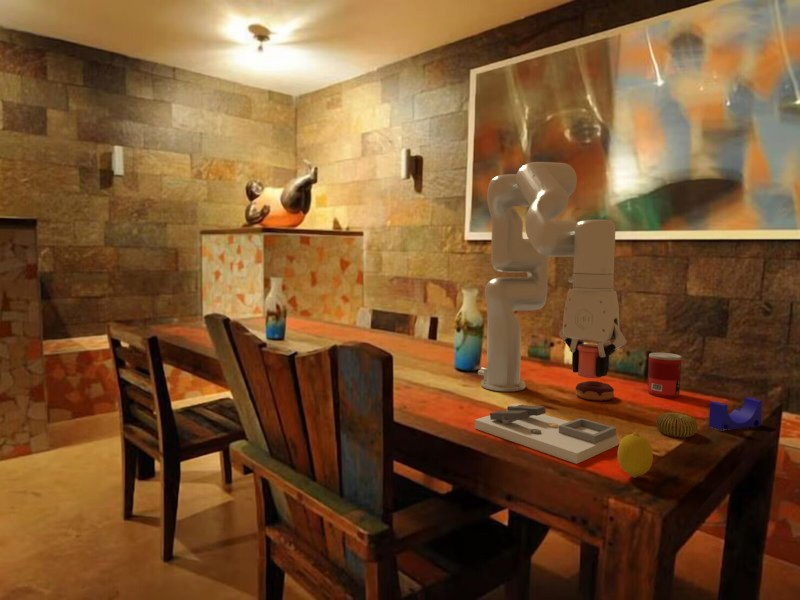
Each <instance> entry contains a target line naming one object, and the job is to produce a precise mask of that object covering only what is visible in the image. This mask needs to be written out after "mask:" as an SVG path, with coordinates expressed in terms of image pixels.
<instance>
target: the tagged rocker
mask: <svg viewBox="0 0 800 600" xmlns="http://www.w3.org/2000/svg"><path fill="white" fill-rule="evenodd" d="M506 408H507V409H506V410H508V411H528V415H529V417H530V416H533V415H535V416H538V415H541V414H544V415H545V414H547V412H546V406H543V405H528V404H527V405H526V404H524V403H512V404H509V405H507V407H506Z"/></svg>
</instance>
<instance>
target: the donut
mask: <svg viewBox="0 0 800 600" xmlns="http://www.w3.org/2000/svg"><path fill="white" fill-rule="evenodd" d="M575 390H576V391H575V395H576V396H578V397H579V398H581V399H584V400H587V401H588V400H589V401H598V402H599V401H600V402H601V401H603V400H604V401H608V400H612V399H613V398H614V397H615V394H614V392H615V389H614V387H613V386H611V385H610V384H608V383H605V382H602V381H597V380H588V381H587V380H586V381H583V382H579V383H577V385H576V386H575ZM604 401H603V402H604Z"/></svg>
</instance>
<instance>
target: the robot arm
mask: <svg viewBox="0 0 800 600" xmlns="http://www.w3.org/2000/svg"><path fill="white" fill-rule="evenodd" d="M577 183H578V177H577V173H576V170H575V169H574V167H572V166H571V165H570V164H568V163H565V162H551V161H532V162H528V163H525V164H524V165H522V166H521V167H519V169H518V171H517V173H508V174H507V173H506V174H500V175H496V176H495V177H492V179H491V180H490V181H489V183H488V187H487V193H486V194H487V195H486V199H487V206H488V211H489V214H490V215H489V216H490V220H491V248H490V249H491V253H490V254H491V255H490V256H491V257H490V259H491V266H492V268H493V269H494V270H495V271H496V272H500V273H526V275H527V276H524V277H523V276H520V277H519V276H500V277H495V278H491V280H488V282H487V283H486V284H485V287H484V299H485V303H486V304H485V306H486V319H487V327H486V328H487V329H486V331H487V333H486V334H487V336H486V337H487V340H486V342H487V344H486V367H480V369H479V370H478V371H477V374H478V375H479V376H483V379H482V380H481V381H480V386H481V387H482V388H484V389H487V390H489V391H496V392H508V393H509V392H518V391H523V390H525V388H526V382H525V381H523V380H521V361H522V360H521V359H522V357H521V356H522V355H521V354H522V353H521V351H522V350H521V349H522V326H521V322H520V320H519V319H518V318H517V316H516V315H515V314H514V312H515V311H516V312H517V311H537V310H540V309H542V308H544V306H545V305H546V302H547V297H548V280H549V257H550V258H556V257H557V258H566V257H567V258H573V267H572V268H573V269H572V270H573V273H572V275H571V276H570V275H569V276H568V278H567V279H568V280H567V281H568V283H571V284H572V288H569V289H568V292H567V294H566V299H565V303H564V304H565V305H564V310H563V311H564V312H563V319H562V320H563V321H562V327H561V329H560V331H559V332H558V336H559V337H560V339H562V340H563V341H564V342H565V344H566V345H567V347H568V348H569V352H571V353H572V355H571V358H572V359H571V360H572V361H571V363H572V364H571V365H572V373H578V362H579V350H577V345H579V344H585V341H586V342H587V341H588V342H594V343H595V342H596V345H598V351H599V356H598V357H597V358H596V376H597V377H600V378H602V377H605V376H607V375H608V373H609V368H610V367H609V365H610V364H609V362H610V361H609V360H610V356H612V354H613V353H615V351H617V350H618V349H619V348H622V347H623V346H625V345H626V344H627V343H628V341H627V339H626V338H625V336H624V335H623V332H622V331H621V329H620V309H619V298H618V293H617V291H616V290H614V276H615V275H614V273H615V272H614V271H615V254H616V253H615V248H616V224H615V223H614V222H613V221H612V220H609V219H585V220H580V221H578V220H555V219H557V218H558V217H559V216H561V215H563V213H564V212H565V211H566V210H567V208H568V205H569V200H570V198H569V197H570V196H571V195H572V194H573V193H575V191H576V187H577ZM515 207H524V208H525V207H526V208H528V210H527V212H526V215H525V224H524V223H523V220H522V217H521V215H520V214H519V212H518V211H517V209H516V208H515ZM524 227H525V233H526V236H527V238H524V237H523V232H524V231H523V230H524ZM611 341H613V342H612V343H611Z"/></svg>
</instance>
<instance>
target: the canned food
mask: <svg viewBox="0 0 800 600" xmlns="http://www.w3.org/2000/svg"><path fill="white" fill-rule="evenodd" d="M682 360H683V359H682V356H681V355H679V354H676V353H670V352H651V353H649V354H648V363H647V364H648V365H647V366H648V367H647V368H648V370H647V388H646V389H647V394H649V395H651V396H653V397H658V398H664V399H674V398H679V395H680V393H681V380H682V379H681V378H682V377H681V376H682Z"/></svg>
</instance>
